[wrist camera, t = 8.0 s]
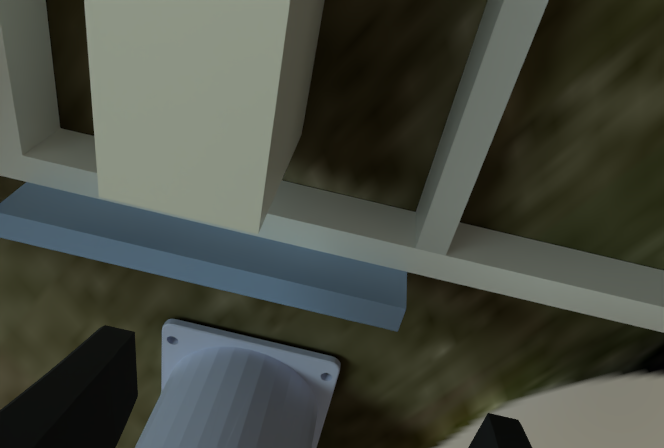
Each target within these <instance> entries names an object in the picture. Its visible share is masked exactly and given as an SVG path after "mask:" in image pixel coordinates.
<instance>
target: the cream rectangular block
mask: <svg viewBox="0 0 664 448" xmlns="http://www.w3.org/2000/svg"><path fill="white" fill-rule="evenodd" d="M324 1H325V0H84V5H85V18H86V31H87V45H88V58H89V71H90V85H91V98H92V111H93V124H94V138H95V151H96V164H97V178H98V191H99V197H101V198H106V199H110V200H114V201H118V202H123V203H127V204H131V205H135V206H140V207H144V208H148V209H152V210H157V211H161V212H165V213H169V214H174V215H178V216H182V217H186V218H191V219H195V220H199V221H204V222H208V223H212V224H216V225H221V226H225V227H229V228H233V229H238V230H242V231H246V232H250V233H255V234H259V231H260V229H261V227H262V225H263V222H264V220H265V218H266V215H267V213H268V211H269V208H270V206H271V204H272V201H273V199H274V197H275V195H276V192H277V190H278V188H279V185H280V183H281V181H282V178H283V176H284V174H285V172H286V169H287V167H288V165H289V162H290V160H291V158H292V155H293V153H294V151H295V148H296V146H297V144H298V142H299V139H300V137H301V135H302V129H303V124H304V118H305V112H306V106H307V100H308V94H309V89H310V83H311V77H312V71H313V65H314V59H315V54H316V48H317V42H318V36H319V30H320V25H321V19H322V13H323V7H324Z"/></svg>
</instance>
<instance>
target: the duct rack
mask: <svg viewBox="0 0 664 448" xmlns="http://www.w3.org/2000/svg"><path fill="white" fill-rule="evenodd" d="M548 1H549V0H488V1H487V4H486V7H485V10H484V13H483V16H482V18H481V21H480V24H479V27H478V30H477V33H476V36H475V39H474V42H473V45H472V48H471V51H470V54H469V57H468V60H467V63H466V66H465V68H464V71H463V74H462V77H461V80H460V83H459V86H458V89H457V92H456V95H455V98H454V101H453V104H452V107H451V110H450V113H449V116H448V118H447V121H446V124H445V127H444V130H443V133H442V136H441V139H440V142H439V145H438V148H437V151H436V154H435V157H434V160H433V163H432V166H431V168H430V171H429V174H428V177H427V180H426V183H425V186H424V189H423V192H422V195H421V198H420V201H419V204H418V207H417V210H416V212H414V211H409V210H405V209H401V208H397V207H392V206H388V205H384V204H380V203H376V202H371V201H367V200H363V199H359V198H354V197H350V196H346V195H342V194H337V193H333V192H329V191H325V190H320V189H316V188H312V187H308V186H304V185H299V184H295V183H291V182H287V181H281V183H280V185H279V188H278V190H277V192H276V195H275V197H274V199H273V201H272V204H271V206H270V208H269V211H268V213H267V215H266V218H265V220H264V222H263V225H262V227H261V229H260V231H259V234H255V233H250V232H246V231H242V230H238V229H233V228H229V227H225V226H221V225H216V224H212V223H208V222H204V221H199V220H195V219H191V218H186V217H182V216H178V215H174V214H169V213H165V212H161V211H157V210H152V209H148V208H144V207H140V206H135V205H131V204H127V203H123V202H118V201H114V200H110V199H106V198H101V197H99V191H98V178H97V164H96V151H95V138H94V136H92V135H88V134H83V133H79V132H75V131H71V130H66V129H62V128H60V121H59V113H58V104H57V95H56V86H55V78H54V69H53V60H52V51H51V43H50V34H49V25H48V16H47V8H46V0H0V176H4V177H8V178H12V179H17V180H21V181H25V182H26V183H25V184H23V185H22V186H21V187H20V188H19V189H17V190H16V191H15V192H14V193H12V194H11V195H10V196H9V197H7V198H6V199H5V200H4V201H2V202H1V203H0V237H1V238H5V239H9V240H13V241H18V242H22V243H26V244H30V245H34V246H39V247H43V248H47V249H51V250H56V251H60V252H64V253H68V254H72V255H77V256H81V257H85V258H89V259H94V260H98V261H102V262H106V263H110V264H115V265H119V266H123V267H127V268H132V269H136V270H140V271H144V272H148V273H153V274H157V275H161V276H165V277H169V278H174V279H178V280H182V281H186V282H191V283H195V284H199V285H203V286H207V287H212V288H216V289H220V290H224V291H229V292H233V293H237V294H241V295H245V296H250V297H254V298H258V299H262V300H267V301H271V302H275V303H279V304H283V305H288V306H292V307H296V308H300V309H305V310H309V311H313V312H317V313H321V314H326V315H330V316H334V317H338V318H343V319H347V320H351V321H355V322H359V323H364V324H368V325H372V326H376V327H380V328H385V329H389V330H393V331H397V332H398V329H399V327H400V324H401V321H402V319H403V316H404V313H405V311H406V294H407V272H410V273H414V274H418V275H422V276H427V277H431V278H435V279H439V280H443V281H448V282H452V283H456V284H460V285H465V286H469V287H473V288H477V289H482V290H486V291H490V292H494V293H498V294H503V295H507V296H511V297H515V298H520V299H524V300H528V301H532V302H536V303H541V304H545V305H549V306H553V307H558V308H562V309H566V310H570V311H575V312H579V313H583V314H587V315H591V316H596V317H600V318H604V319H608V320H613V321H617V322H621V323H625V324H629V325H634V326H638V327H642V328H646V329H651V330H655V331H659V332H663V333H664V271H663V270H659V269H655V268H651V267H647V266H642V265H638V264H634V263H630V262H625V261H621V260H617V259H613V258H608V257H604V256H600V255H596V254H591V253H587V252H583V251H579V250H575V249H570V248H566V247H562V246H558V245H553V244H549V243H545V242H541V241H536V240H532V239H528V238H524V237H520V236H515V235H511V234H507V233H503V232H498V231H494V230H490V229H486V228H481V227H477V226H473V225H469V224H464V223H460V219H461V217H462V214H463V212H464V209H465V207H466V204H467V202H468V199H469V197H470V194H471V192H472V189H473V187H474V184H475V182H476V179H477V177H478V174H479V172H480V169H481V167H482V164H483V162H484V159H485V157H486V155H487V152H488V150H489V147H490V145H491V142H492V140H493V137H494V135H495V132H496V130H497V127H498V125H499V122H500V120H501V117H502V115H503V112H504V110H505V107H506V105H507V102H508V100H509V97H510V95H511V92H512V90H513V87H514V85H515V83H516V80H517V78H518V75H519V73H520V70H521V68H522V65H523V63H524V60H525V58H526V55H527V53H528V50H529V48H530V45H531V43H532V40H533V38H534V35H535V33H536V30H537V28H538V25H539V23H540V20H541V18H542V15H543V13H544V11H545V8H546V6H547V3H548Z"/></svg>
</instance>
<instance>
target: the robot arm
mask: <svg viewBox="0 0 664 448" xmlns="http://www.w3.org/2000/svg"><path fill="white" fill-rule="evenodd" d="M172 336H173V337H172ZM174 337H175V338H174ZM339 372H340V361H339V360H338V359H337V358H335V357H333V356H329V355H325V354H321V353H317V352H312V351H308V350H304V349H300V348H296V347H291V346H287V345H283V344H279V343H274V342H270V341H266V340H262V339H258V338H253V337H249V336H245V335H241V334H237V333H232V332H228V331H224V330H220V329H215V328H211V327H207V326H203V325H199V324H194V323H190V322H186V321H182V320H178V319H169V320H167V321H166V322H165V324H164V325H163V328H162V393H161V395H160V397H159V399H158V401H157V403H156V405H155V407H154V409H153V411H152V413H151V415H150V417H149V420H148V422H147V424H146V426H145V428H144V430H143V432H142V434H141V436H140V438H139V440H138V442H137V444H136V446H135V448H317V444H318V441H319V438H320V435H321V431H322V428H323V425H324V421H325V418H326V415H327V411H328V408H329V405H330V402H331V398H332V395H333V392H334V388H335V385H336V382H337V379H338V375H339ZM326 373H328V374H326ZM137 397H138V390H137V370H136V350H135V332H132V331H128V330H124V329H119V328H115V327H111V326H106V325H105V326H103V327H101V328H99V329H98V330H97V331H96V332H95V333H94V334H92V335H91V336H90V337H89V338H88V339H87V340H85V341H84V342H83V343H82V344H81V345H80V346H79V347H77V348H76V349H75V350H74V351H73V352H72V353H70V354H69V355H68V356H67V357H66V358H64V359H63V360H62V361H61V362H60V363H58V364H57V365H56V366H55V367H54V368H52V369H51V370H50V371H49V372H48V373H46V374H45V375H44V376H43V377H42V378H40V379H39V380H38V381H37V382H35V383H34V384H33V385H32V386H30V387H29V388H28V389H26V390H25V391H24V392H23V393H21V394H20V395H19V396H18V397H16V398H15V399H14V400H13V401H11V402H10V403H9V404H8V405H6V406H5V407H4V408H2V409H1V410H0V448H115V447H116V445H117V443H118V441H119V439H120V436H121V434H122V432H123V430H124V427H125V425H126V423H127V421H128V418H129V416H130V413H131V411H132V409H133V406H134V404H135V402H136V399H137ZM469 448H532V447H531V444H530V442H529V440H528V438H527V436H526V434H525V432H524V429H523V427H522V425H521V424H520V422H519V421H518V420H516V419H512V418H508V417H503V416H499V415H494V414H490V413H488V414H487V416H486V417H485V419H484V421H483V423H482V425H481V426H480V428H479V430H478V432H477V433H476V435H475V437H474V439H473V441H472V442H471V444H470V446H469Z"/></svg>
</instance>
